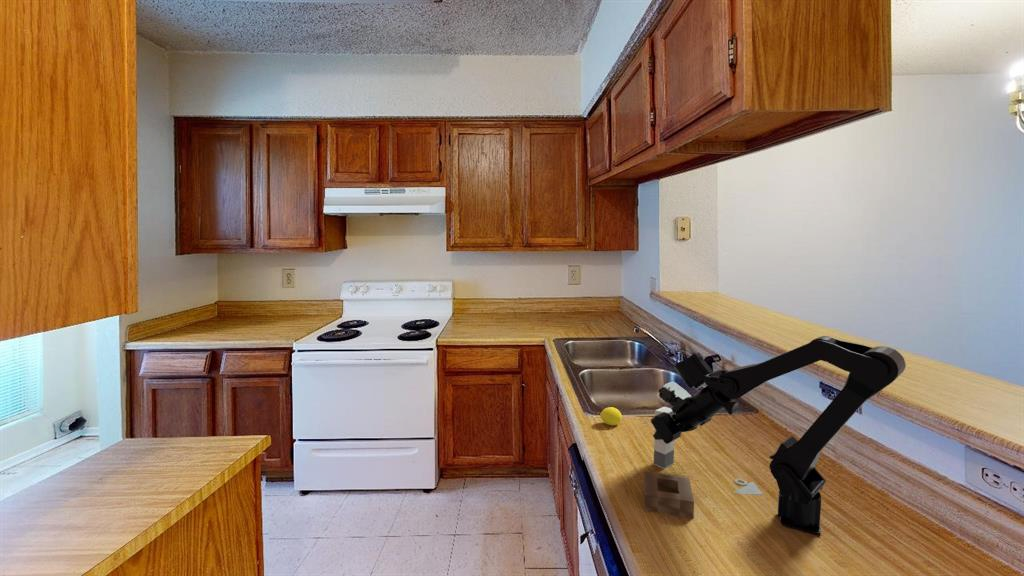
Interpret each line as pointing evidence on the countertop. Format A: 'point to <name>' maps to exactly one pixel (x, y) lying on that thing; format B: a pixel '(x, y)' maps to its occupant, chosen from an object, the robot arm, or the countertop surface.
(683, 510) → the post base
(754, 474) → the countertop surface
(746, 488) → the grey triangular pendant
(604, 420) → the lemon
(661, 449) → the rail post
